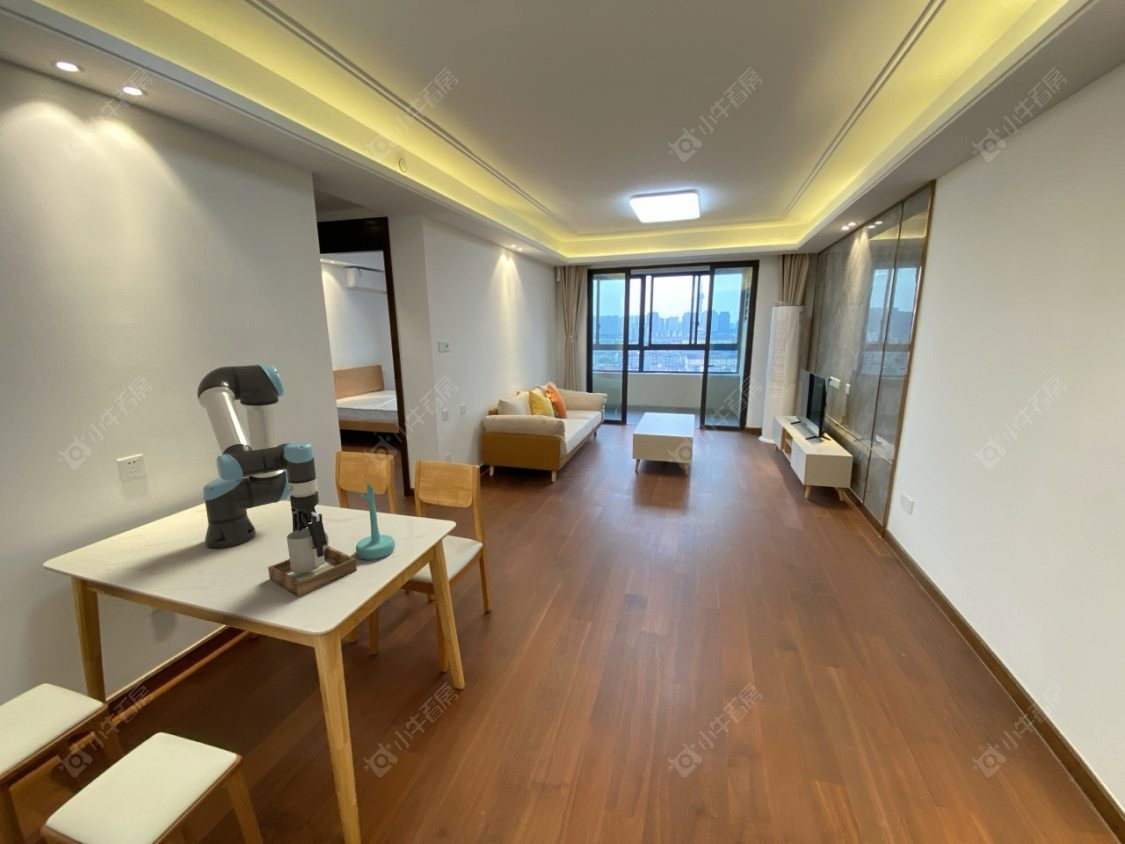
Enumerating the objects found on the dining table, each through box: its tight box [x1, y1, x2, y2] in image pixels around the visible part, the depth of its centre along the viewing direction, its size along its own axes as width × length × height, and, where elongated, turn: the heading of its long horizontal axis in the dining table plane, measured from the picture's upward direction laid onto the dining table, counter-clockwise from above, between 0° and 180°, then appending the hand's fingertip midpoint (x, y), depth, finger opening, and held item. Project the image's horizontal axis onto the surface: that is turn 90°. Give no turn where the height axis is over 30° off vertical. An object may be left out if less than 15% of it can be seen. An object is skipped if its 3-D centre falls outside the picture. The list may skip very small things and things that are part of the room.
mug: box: [286, 527, 329, 573], centre depth 140 cm, size 12×8×11 cm
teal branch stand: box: [355, 483, 396, 561], centre depth 154 cm, size 13×12×25 cm
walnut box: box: [267, 545, 358, 598], centre depth 141 cm, size 18×18×4 cm
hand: (312, 561), depth 141 cm, fingers closed on mug, 8 cm apart
